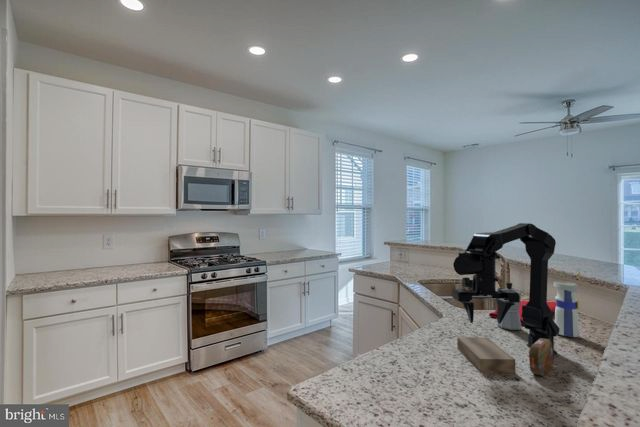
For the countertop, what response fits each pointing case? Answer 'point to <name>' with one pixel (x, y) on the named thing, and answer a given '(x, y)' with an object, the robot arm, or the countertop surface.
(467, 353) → the walnut plinth
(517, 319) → the coffee maker
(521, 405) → the countertop surface
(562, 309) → the water bottle
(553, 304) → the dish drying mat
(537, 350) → the tin
